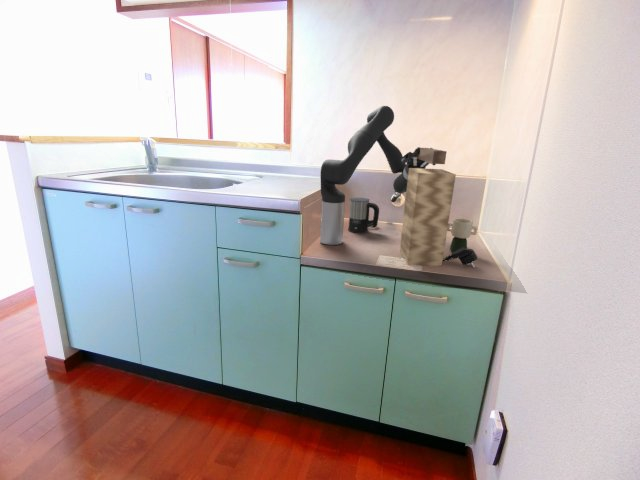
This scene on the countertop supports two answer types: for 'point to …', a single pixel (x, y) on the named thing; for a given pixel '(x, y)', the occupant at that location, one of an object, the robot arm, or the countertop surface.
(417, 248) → the stand
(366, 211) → the milk frother
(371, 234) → the countertop surface
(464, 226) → the character mug
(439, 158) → the rod
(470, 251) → the power plug
